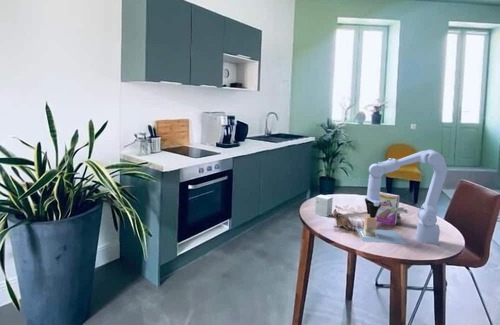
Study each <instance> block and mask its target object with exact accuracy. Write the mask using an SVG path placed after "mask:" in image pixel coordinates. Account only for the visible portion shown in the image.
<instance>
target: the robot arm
mask: <svg viewBox="0 0 500 325" xmlns="http://www.w3.org/2000/svg"><path fill="white" fill-rule="evenodd" d="M445 161H446V160H445V158H444V156H443V155H442V154H441V153H440V152H438V151H435V150H434V149H432V148H430V149H425V150H421V151H418V152H415V153H412V154H409V155H408V156H404V157H401V158H398V159H396V158H391V157H390V158H388V159H387V160H384V161H378V163H372V164H370V166H369V167H368V172H369V175H368V183H367V192H366V196H364V197H363V198H364V202H365V205H366V206H365V207H366V211H367V212H366V213H367V214H366V215H370V218H375V216H376V213H377V211H378V209H379V208H380V207H381V205H380V204H379V200H380V198H379V196H380V192H381V185H382V176H383V175H385V174H388V173H392V172H393V173H394V172H395V171H399V169H400V167H404V166H407V165H410V164H414V163H418V162H419V163H421V164H428V165H429V166H430V168H431V169H432V171H433V174H432V177H431V180H430V184H429V188H428V191H427V193H426V197H425V200H424V202H423V204H421V207H420V209H419V210H418V211H417V218H418V221H417V224H416V226H417V227H416V233H415V240H416V241H418V242H419V243H422V244H423V243H424V244H435V245H436V246H440V245H439V240H440V233H441V230H440V226H439V225H438V224H437V221H438V219H437V214H438V210H437V209H438V208H437V206H438V203H439V199H440V197H441V193H442V190H443V186H444V184H445V181H446V177H447V174H448V167H447V164H446V162H445Z"/></svg>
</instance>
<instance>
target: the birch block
mask: <svg viewBox="0 0 500 325" xmlns="http://www.w3.org/2000/svg"><path fill="white" fill-rule="evenodd" d="M363 229H364V231H363V232H364V234H365V236H375V231H376V230H377V227H376V228H373V227H366V225H365V224H364V223H363Z"/></svg>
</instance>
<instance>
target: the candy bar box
mask: <svg viewBox="0 0 500 325" xmlns="http://www.w3.org/2000/svg"><path fill="white" fill-rule="evenodd" d="M379 198H380V200H379V204H380V205H381V207H380V208H379V209H378V211H377V213H376V216H375V217H376V218H377V223H382V224H386V225H389V226H390V225H391V226H396V224H397V220H398V213H399V205H400V200H401V197H400V195H399V194H398V195H397V194H392V193H388V192H382V191H380V196H379Z"/></svg>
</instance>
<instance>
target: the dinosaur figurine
mask: <svg viewBox="0 0 500 325" xmlns="http://www.w3.org/2000/svg"><path fill="white" fill-rule="evenodd" d="M339 216H340V217H339ZM332 217H334V219H335V221H336V222H335V223H336V225H334V226H333V228H339V226H341V227H344V228H345V229H346V231H349V227H351V228H357V226H356V225H353V224H352V223H351V222H350V220H349V218H347V217H344V215H343V214H342V213H340V212H339V211H337V209H333V212H332Z"/></svg>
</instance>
